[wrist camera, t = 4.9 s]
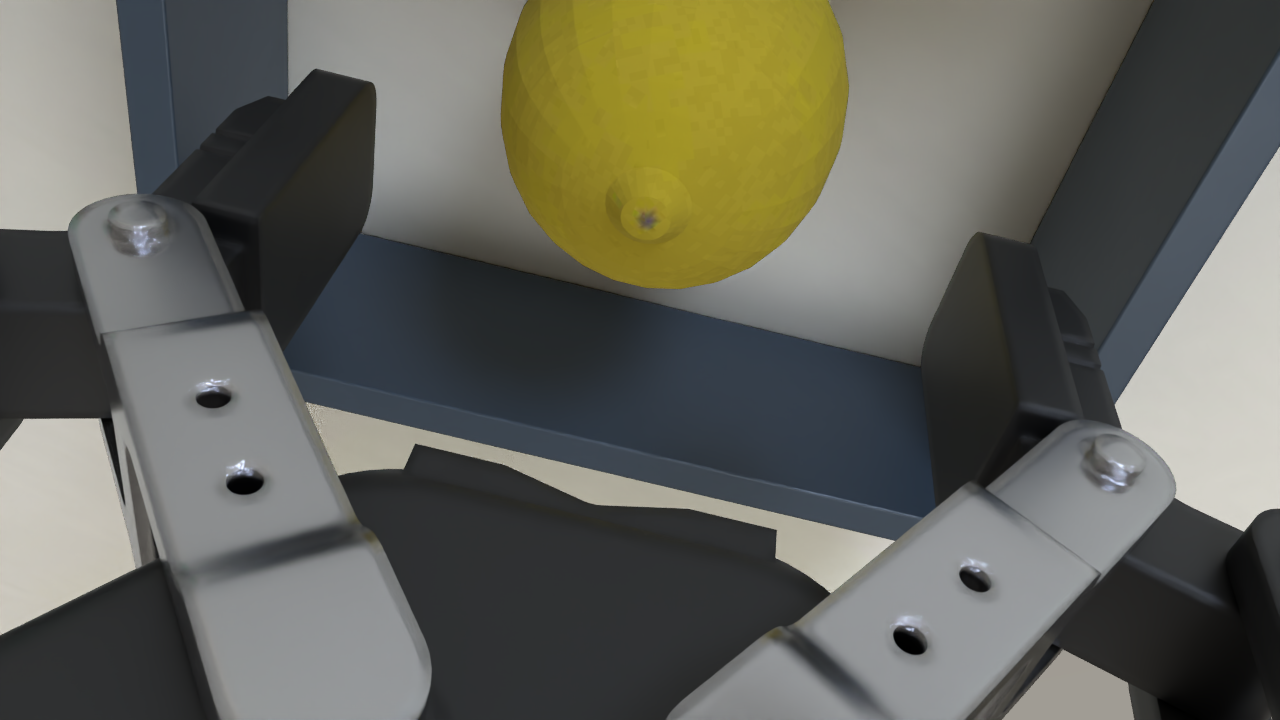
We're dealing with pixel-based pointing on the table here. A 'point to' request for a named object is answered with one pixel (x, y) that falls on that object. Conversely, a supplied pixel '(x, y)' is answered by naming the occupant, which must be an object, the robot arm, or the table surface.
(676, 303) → the table surface
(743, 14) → the lemon
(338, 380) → the rectangular frame
